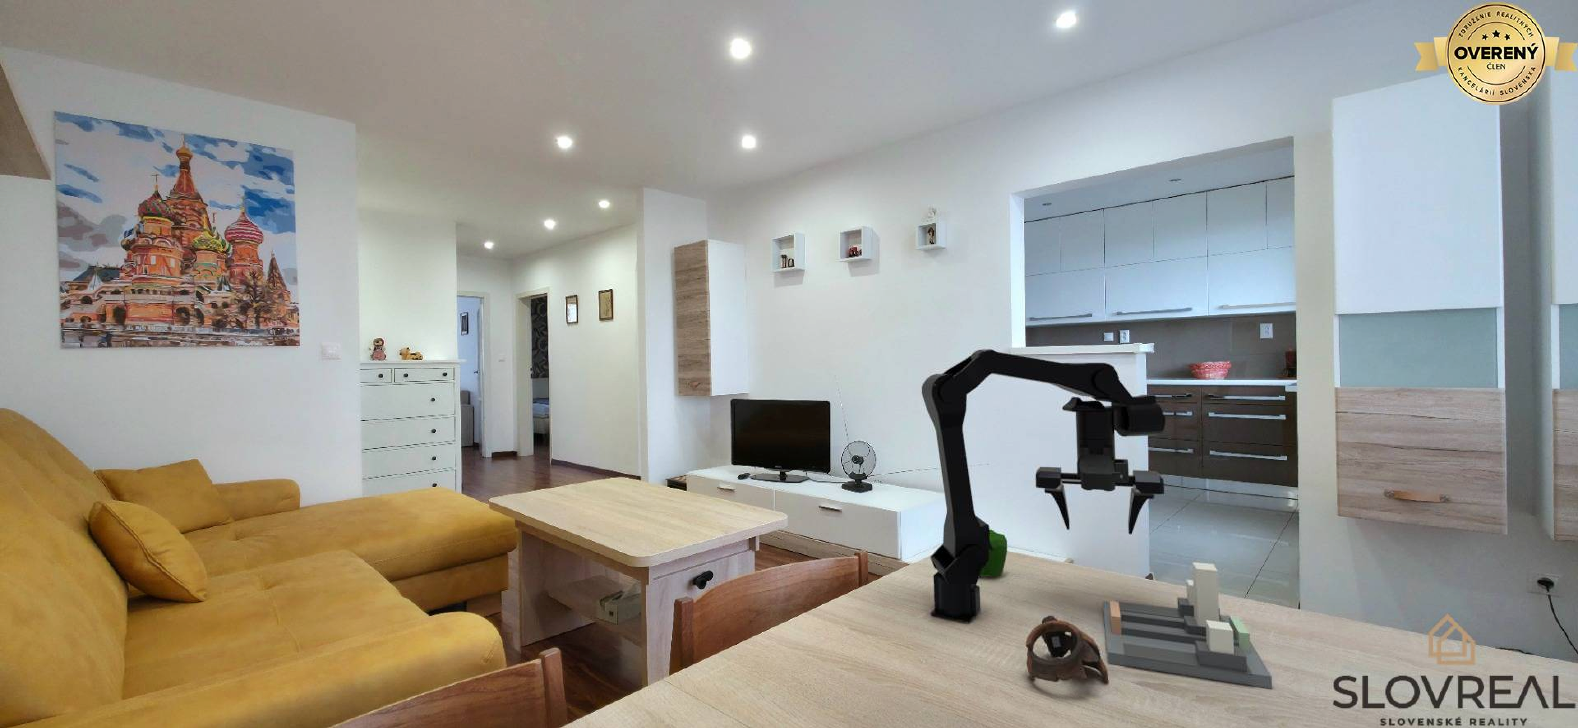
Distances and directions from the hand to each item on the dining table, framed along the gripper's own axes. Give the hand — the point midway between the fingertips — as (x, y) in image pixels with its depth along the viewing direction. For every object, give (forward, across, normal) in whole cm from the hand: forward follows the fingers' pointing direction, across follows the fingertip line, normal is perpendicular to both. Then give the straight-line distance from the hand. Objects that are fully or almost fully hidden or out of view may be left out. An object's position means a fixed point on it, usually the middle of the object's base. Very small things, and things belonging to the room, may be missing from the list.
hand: (1098, 531), depth 102 cm
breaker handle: (+11, +13, -11) cm, 20 cm away
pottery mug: (+13, -5, -26) cm, 29 cm away
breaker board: (+12, +9, -11) cm, 19 cm away
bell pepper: (+13, -20, +10) cm, 26 cm away
